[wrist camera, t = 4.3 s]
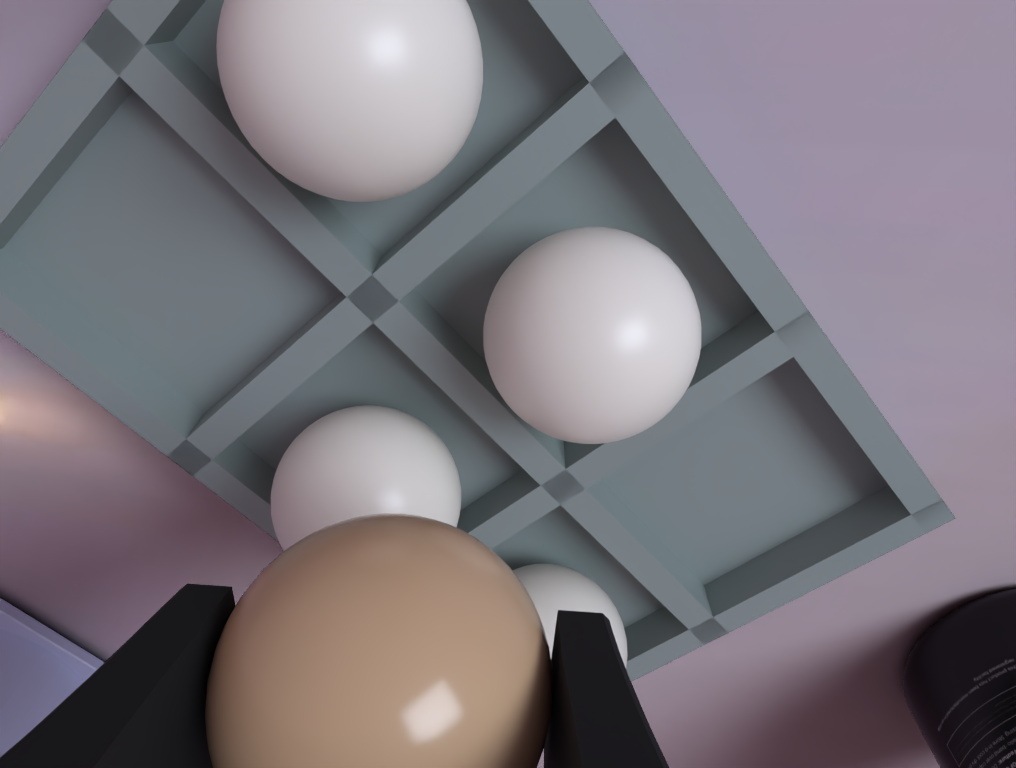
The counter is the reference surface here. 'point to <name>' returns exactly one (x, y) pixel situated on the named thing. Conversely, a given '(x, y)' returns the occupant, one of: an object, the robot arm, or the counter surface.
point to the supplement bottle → (967, 684)
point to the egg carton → (446, 303)
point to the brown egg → (381, 656)
